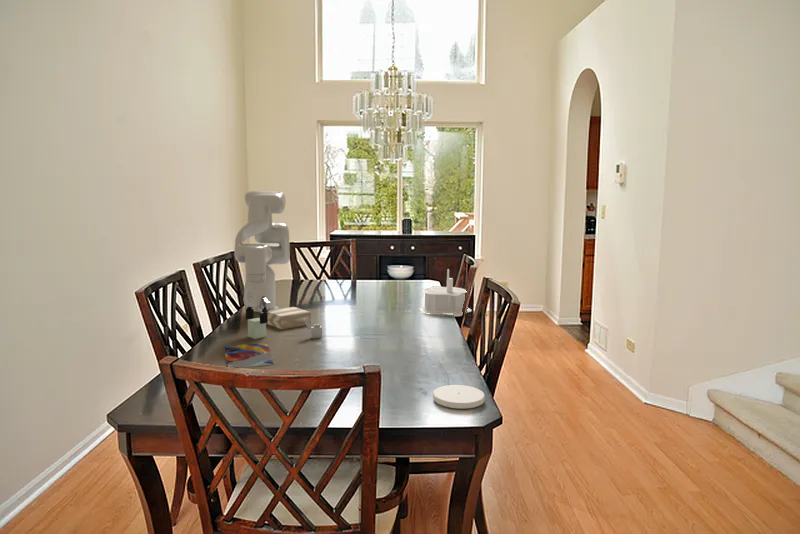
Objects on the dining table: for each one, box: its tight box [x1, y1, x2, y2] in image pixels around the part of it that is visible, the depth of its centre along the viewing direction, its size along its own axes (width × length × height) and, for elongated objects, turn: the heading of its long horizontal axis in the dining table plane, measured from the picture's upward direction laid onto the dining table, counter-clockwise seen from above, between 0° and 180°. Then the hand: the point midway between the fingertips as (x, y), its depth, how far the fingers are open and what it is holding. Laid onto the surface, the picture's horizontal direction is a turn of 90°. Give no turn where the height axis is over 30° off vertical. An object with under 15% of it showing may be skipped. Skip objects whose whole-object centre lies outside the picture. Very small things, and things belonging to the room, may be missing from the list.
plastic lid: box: [432, 384, 485, 410], centre depth 153 cm, size 14×14×2 cm
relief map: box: [223, 342, 276, 369], centre depth 193 cm, size 25×15×2 cm, turn 20°
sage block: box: [247, 317, 267, 340], centre depth 217 cm, size 5×5×7 cm
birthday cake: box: [419, 268, 472, 317], centre depth 268 cm, size 30×29×22 cm
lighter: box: [303, 318, 323, 339], centre depth 217 cm, size 7×2×8 cm, turn 104°
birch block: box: [266, 306, 312, 330], centre depth 239 cm, size 14×14×6 cm
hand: (256, 321), depth 217 cm, fingers open, 9 cm apart
